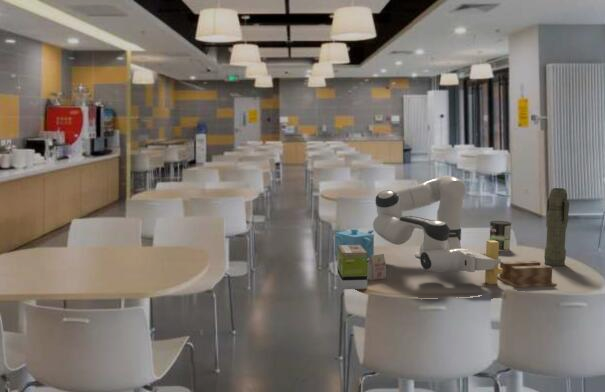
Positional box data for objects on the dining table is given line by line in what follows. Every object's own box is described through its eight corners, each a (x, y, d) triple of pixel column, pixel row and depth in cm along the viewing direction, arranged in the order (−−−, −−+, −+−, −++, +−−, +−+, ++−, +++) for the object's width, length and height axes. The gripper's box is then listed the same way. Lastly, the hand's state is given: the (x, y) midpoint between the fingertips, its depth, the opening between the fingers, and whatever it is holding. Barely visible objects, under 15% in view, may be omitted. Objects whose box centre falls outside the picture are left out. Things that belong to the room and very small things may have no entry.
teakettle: (373, 265, 276) (373, 233, 274) (331, 263, 278) (332, 231, 276) (373, 256, 294) (374, 226, 293) (335, 255, 297) (335, 225, 295)
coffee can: (494, 251, 307) (495, 224, 306) (485, 247, 317) (486, 220, 316) (513, 251, 308) (514, 223, 307) (504, 247, 319) (505, 220, 317)
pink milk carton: (366, 278, 251) (367, 254, 250) (380, 276, 255) (380, 253, 253) (371, 280, 248) (372, 256, 247) (385, 278, 251) (386, 254, 250)
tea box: (336, 279, 249) (337, 244, 247) (360, 279, 249) (361, 244, 248) (342, 289, 234) (342, 252, 232) (367, 289, 235) (368, 251, 233)
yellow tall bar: (493, 286, 240) (495, 244, 238) (480, 279, 250) (482, 239, 248) (501, 286, 240) (503, 243, 238) (488, 279, 251) (490, 238, 249)
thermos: (558, 268, 272) (563, 190, 268) (537, 262, 282) (541, 187, 278) (572, 266, 276) (576, 189, 272) (550, 260, 286) (554, 186, 282)
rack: (515, 287, 239) (515, 269, 238) (495, 277, 254) (495, 261, 253) (556, 285, 242) (557, 268, 241) (534, 275, 257) (535, 259, 257)
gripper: (450, 261, 252) (481, 260, 255) (473, 273, 232) (506, 271, 235) (451, 246, 252) (482, 245, 254) (473, 257, 232) (507, 255, 234)
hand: (494, 258), depth 244 cm, fingers open, 8 cm apart
